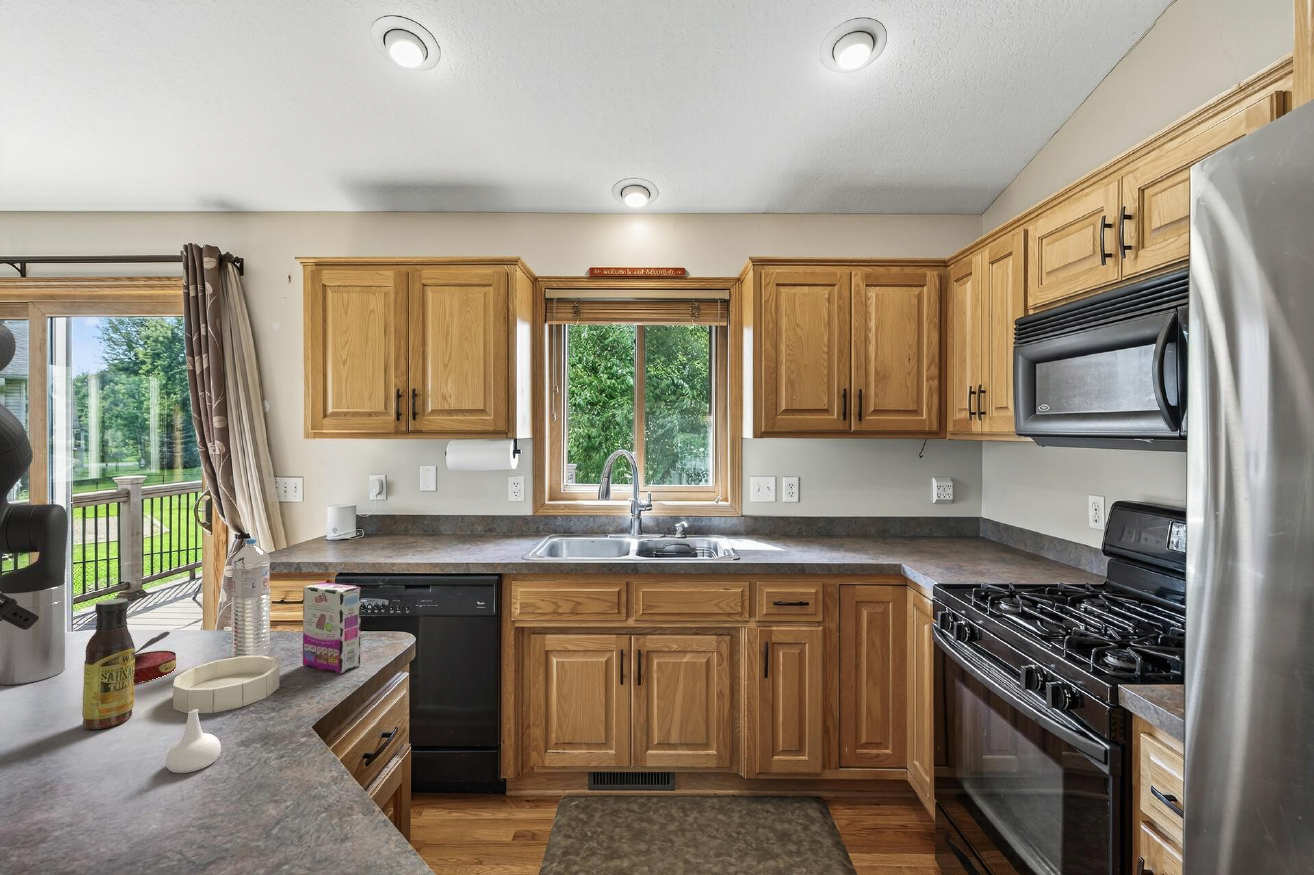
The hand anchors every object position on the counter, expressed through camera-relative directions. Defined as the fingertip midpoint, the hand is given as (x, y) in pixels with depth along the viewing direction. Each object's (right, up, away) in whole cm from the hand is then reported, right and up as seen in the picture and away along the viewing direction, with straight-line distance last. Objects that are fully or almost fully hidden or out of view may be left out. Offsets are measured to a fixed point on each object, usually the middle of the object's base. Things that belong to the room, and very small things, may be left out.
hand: (19, 619), depth 89 cm
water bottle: (+8, -20, +39) cm, 45 cm away
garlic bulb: (+27, -21, -2) cm, 34 cm away
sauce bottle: (+4, -20, +10) cm, 23 cm away
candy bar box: (+28, -20, +34) cm, 49 cm away
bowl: (+16, -20, +21) cm, 33 cm away
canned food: (-6, -20, +29) cm, 36 cm away
